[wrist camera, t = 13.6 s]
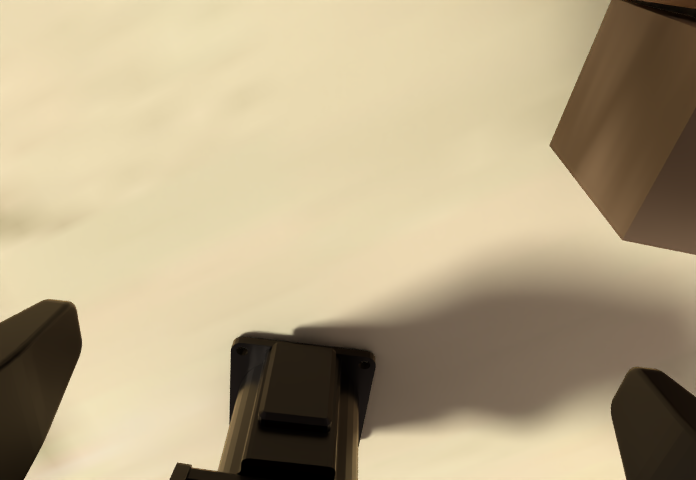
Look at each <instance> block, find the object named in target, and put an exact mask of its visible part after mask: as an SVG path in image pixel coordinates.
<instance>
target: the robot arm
mask: <svg viewBox="0 0 696 480" xmlns="http://www.w3.org/2000/svg"><path fill="white" fill-rule="evenodd" d="M240 347H244V348H246V349H241V348H240ZM81 348H82V338H81V332H80V326H79V321H78V315H77V310H76V307H75V305H74V304H73V303H72V302H69V301H62V300H53V299H46V300H43V301H41V302H39V303H37V304H35V305H33V306H31V307H29V308H27V309H25V310H23V311H22V312H20V313H18V314H16V315H14V316H12V317H10V318H8V319H6V320H4V321H2V322H1V323H0V480H24V478H25V476H26V475H27V473H28V471H29V469H30V467H31V465H32V464H33V462H34V460H35V458H36V456H37V454H38V452H39V450H40V448H41V447H42V445H43V443H44V440H45V438H46V436H47V434H48V431H49V429H50V427H51V424H52V422H53V419H54V417H55V415H56V412H57V410H58V407H59V405H60V402H61V400H62V398H63V395H64V393H65V390H66V388H67V385H68V383H69V381H70V378H71V376H72V373H73V371H74V368H75V366H76V364H77V361H78V359H79V356H80V353H81ZM362 361H367V363H362ZM374 371H375V356H374V354H373V353H371V352H369V351H364V350H355V349H347V348H338V347H329V346H320V345H312V344H303V343H294V342H285V341H277V340H268V339H259V338H251V337H238V338H236V339H235V340H234V341H233V345H232V348H231V370H230V422H229V430H228V433H227V437H226V441H225V445H224V449H223V453H222V456H221V460H220V464H219V468H218V471H213V470H206V469H199V468H192V465H190V464H183V463H177V464H176V466H175V469H174V471H173V473H172V475H171V478H170V480H358V446H359V442H360V437H361V433H362V428H363V423H364V419H365V414H366V409H367V404H368V400H369V395H370V390H371V385H372V381H373V376H374ZM611 416H612V421H613V425H614V429H615V433H616V438H617V442H618V446H619V450H620V455H621V459H622V463H623V467H624V472H625V476H626V480H696V397H695V396H694V395H692V394H691V393H690V392H688V391H687V390H686V389H684V388H683V387H682V386H680V385H679V384H678V383H677V382H675V381H674V380H673V379H671V378H670V377H669V376H667V375H666V374H665V373H663V372H662V371H660V370H657V369H652V368H643V367H633V368H632V369H630V370H629V371H628V373H627V374H626V376H625V378H624V380H623V382H622V384H621V385H620V387H619V389H618V391H617V393H616V394H615V396H614V398H613V400H612V404H611Z"/></svg>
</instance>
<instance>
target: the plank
mask: <svg viewBox="0 0 696 480" xmlns="http://www.w3.org/2000/svg"><path fill="white" fill-rule="evenodd" d="M639 1H646V2H653V3H660V4H666V5H673V6H680V7H687V8H694V9H696V0H639Z"/></svg>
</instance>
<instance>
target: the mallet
mask: <svg viewBox="0 0 696 480" xmlns="http://www.w3.org/2000/svg"><path fill="white" fill-rule="evenodd" d="M549 146H550V147H551V148H552V150H553V151H554V152H555V153H556V155H557V156H558V157H559V159H560V160H561V161H562V163H563V164H564V165H565V166H566V168H567V169H568V170H569V172H570V173H571V174H572V176H573V177H574V178H575V179H576V181H577V182H578V183H579V185H580V186H581V187H582V189H583V190H584V191H585V192H586V194H587V195H588V196H589V198H590V199H591V200H592V202H593V203H594V204H595V205H596V207H597V208H598V209H599V211H600V212H601V213H602V215H603V216H604V217H605V218H606V220H607V221H608V222H609V224H610V225H611V226H612V228H613V229H614V230H615V231H616V233H617V234H618V235H619V237H620V238H621V239H622V240H624V241H629V242H634V243H639V244H644V245H649V246H654V247H659V248H664V249H669V250H674V251H679V252H684V253H689V254H694V255H696V17H693V16H689V15H684V14H680V13H676V12H672V11H668V10H663V9H659V8H655V7H651V6H647V5H642V4H638V3H634V2H630V1H626V0H611V3H610V5H609V7H608V10H607V12H606V14H605V17H604V19H603V21H602V24H601V26H600V28H599V31H598V33H597V35H596V38H595V40H594V42H593V45H592V47H591V49H590V52H589V54H588V56H587V59H586V61H585V63H584V66H583V68H582V70H581V73H580V75H579V77H578V80H577V82H576V84H575V87H574V89H573V91H572V94H571V96H570V99H569V101H568V103H567V106H566V108H565V110H564V113H563V115H562V117H561V120H560V122H559V124H558V127H557V129H556V131H555V134H554V136H553V138H552V141H551V143H550V145H549Z"/></svg>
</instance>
